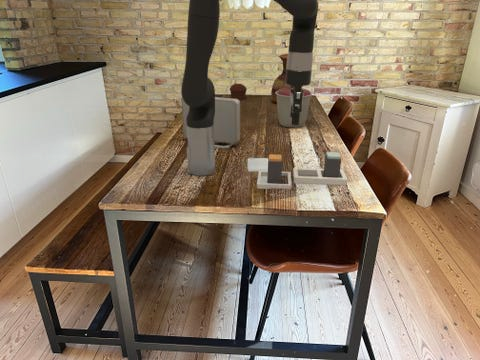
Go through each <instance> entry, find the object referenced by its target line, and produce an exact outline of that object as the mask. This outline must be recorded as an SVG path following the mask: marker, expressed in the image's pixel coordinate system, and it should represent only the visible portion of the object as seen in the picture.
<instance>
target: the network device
mask: <svg viewBox="0 0 480 360" xmlns="http://www.w3.org/2000/svg"><path fill="white" fill-rule="evenodd" d="M180 99H181V115H182V129H183V136H184V137H185V138H187V139H188V137H187V123H186V118H187V115H188V112H189V106H188V105H187V104H186V103H185V102H184V100H183V98H182V97H181V98H180ZM240 139H241V101H239V100H238V99H232V98H230V97H229V98H227V97H217V96H215V116H214V148H219V149H229V148H231V147H232V146H233V145H234V144H237V143H238V142H239V141H240ZM218 142H219V143H226V144H227V145H218V144H217V143H218Z"/></svg>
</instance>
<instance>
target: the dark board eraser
mask: <svg viewBox="0 0 480 360" xmlns="http://www.w3.org/2000/svg"><path fill="white" fill-rule="evenodd" d="M341 164H342V156H341V154H340V152H336V151H335V152H334V151H333V152H332V151H326V153H325V156H324V165H323V169H324V173H323V177H333V178H339V174H340V170H341Z"/></svg>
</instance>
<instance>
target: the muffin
mask: <svg viewBox="0 0 480 360" xmlns="http://www.w3.org/2000/svg"><path fill="white" fill-rule="evenodd" d="M247 90H248V89H247V86H245V85H244V84H243V83H235V84H233V85H231V86H230V88H229V91H230V97H231V99H238V100H239V101H240V102H241V101H244V100H245V99H246V96H247V95H246V94H247Z"/></svg>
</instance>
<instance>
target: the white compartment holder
mask: <svg viewBox="0 0 480 360" xmlns="http://www.w3.org/2000/svg"><path fill="white" fill-rule="evenodd" d="M292 168H293V169H292V170H293V171H292V175H293V177H292V178H293V184H303V185H304V184H305V185H324V186H325V185H331V186H348V185H347V184H348V177H347V175H346V173H345V171H344V169H340V174H339V178H333V177H323V173H324V168H309V167H308V168H307V167H306V168H305V167H292Z"/></svg>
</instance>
